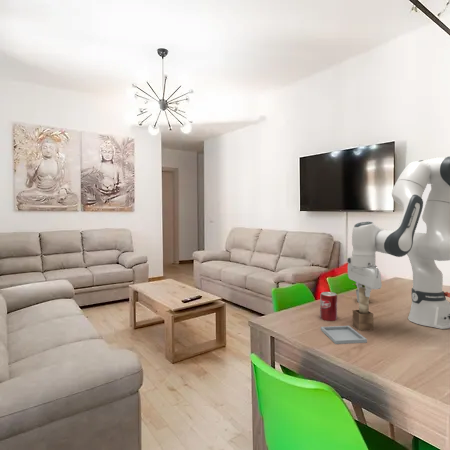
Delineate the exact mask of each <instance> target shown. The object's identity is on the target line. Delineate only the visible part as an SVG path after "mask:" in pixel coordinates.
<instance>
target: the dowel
mask: <svg viewBox="0 0 450 450" xmlns="http://www.w3.org/2000/svg"><path fill="white" fill-rule="evenodd" d="M365 290H366V288H365V287H360V288H359V302H358V310H359V313H360V314H369V312H370V311H369V304H370V303H369V299H370V297H366V296H364V292H365Z"/></svg>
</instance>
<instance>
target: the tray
mask: <svg viewBox="0 0 450 450" xmlns="http://www.w3.org/2000/svg"><path fill="white" fill-rule="evenodd" d="M320 331H321V332H322V333H323V334H324V335H325V336H327V337H328V338H329V340H330V341H332V342H333V343H334V344H335V345H346V344H349V345H350V344H364V343H365V344H366V343H368V339H367V338H366V337H365V336H363V335H362V334H361V333H360V332H358V330H355V329H354V327H352V326H350V325H331V326H320Z"/></svg>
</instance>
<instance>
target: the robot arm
mask: <svg viewBox="0 0 450 450" xmlns="http://www.w3.org/2000/svg"><path fill="white" fill-rule="evenodd" d="M427 185H430V191H429V192H428V196H427V198H426V202H425V204H424V200H423V199H422V198H423V194H424V192H425V190H426V188H427ZM391 197H392V199H393V201H394V202H395V203H396V204H397V205H399V206H401V207H402V208H403V211H402V215H401V217H400V219H399V220H400V221H399V222H398V223H399V224H398V226H397V228H395V229H393V230H392V229H391V230H390V229H384V228H382V227H379V226H378V225H376V224H374V222H373V221H361V222H358V223H356V224H354V225H353V228H352V233H351V234H352V236H351V245H352V253H351V256H349V257H347V258H346V263H347V277H348V279H349V280H351V281H354V282H355V284H356V285H357V286H356V287H357V289H358V293H359V288H360V287H362V285H364V286H365V288H366V290H365V292H364V296H366V297H369V298H370V297H371V292H372V290H381V288H382V286H383V285H382V276H381V270H379V268H378V266H377V265H376V264H377V263H376V252H379V253H382V254H386V255H387V254H388V255H390V256H393V257H397V258H402V257H405V256H406V255H407V258H408V260H409V262H410V265H411V270H412V288H411V292H410V293H411V306H410V311H409V314H408V317H407V320H408V321H410V322H412V323H414V324H416V325H420V326H425V327H431V328H437V329H441V330H446V329H450V301H448V300H447V298H450V292H448V291H444V290H443V282H444V281H443V277H444V276H443V273H442V271H441V269H439V267H438V266H437V264H436V262H435V261H437V262H438V261H439V262H443V261H444V262H445V261H450V156H440V157H439V156H438V157H432V158H427V159H422V160H415V161H411V162H410V163H408V164H407V165H406V166H405V168H404V169H403V170H402V172H401V173H400V175H399V176H398V178H397V180H396V181H395V184H394V186H393V189H392V191H391ZM423 206H424V208H423ZM422 211H423V212H422ZM421 214H422V215H421ZM420 217H421V219H422V221H423V222H424V223H425V226H426V231H425V233H424V232H416V230H417V226H418V224H419V220H420Z"/></svg>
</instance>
